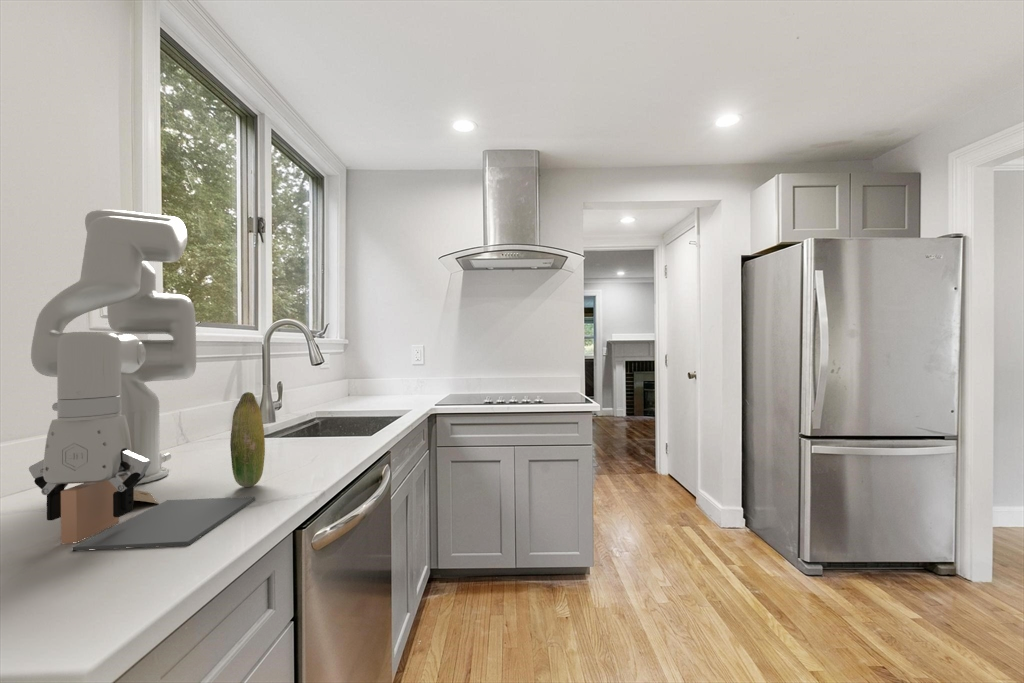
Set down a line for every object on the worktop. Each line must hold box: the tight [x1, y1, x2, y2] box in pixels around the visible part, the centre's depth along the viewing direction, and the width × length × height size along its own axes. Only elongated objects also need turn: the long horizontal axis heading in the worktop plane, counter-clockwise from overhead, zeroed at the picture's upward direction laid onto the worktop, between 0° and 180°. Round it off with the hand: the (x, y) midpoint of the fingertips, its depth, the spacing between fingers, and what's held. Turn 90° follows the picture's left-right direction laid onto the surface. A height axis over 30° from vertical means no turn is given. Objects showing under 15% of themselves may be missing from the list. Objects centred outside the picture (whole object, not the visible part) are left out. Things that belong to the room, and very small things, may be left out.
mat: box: [71, 496, 256, 551], centre depth 76 cm, size 20×16×1 cm
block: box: [60, 480, 120, 544], centre depth 72 cm, size 8×2×8 cm, turn 5°
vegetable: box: [229, 391, 266, 488], centre depth 94 cm, size 6×6×20 cm
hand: (91, 515), depth 72 cm, fingers open, 9 cm apart
